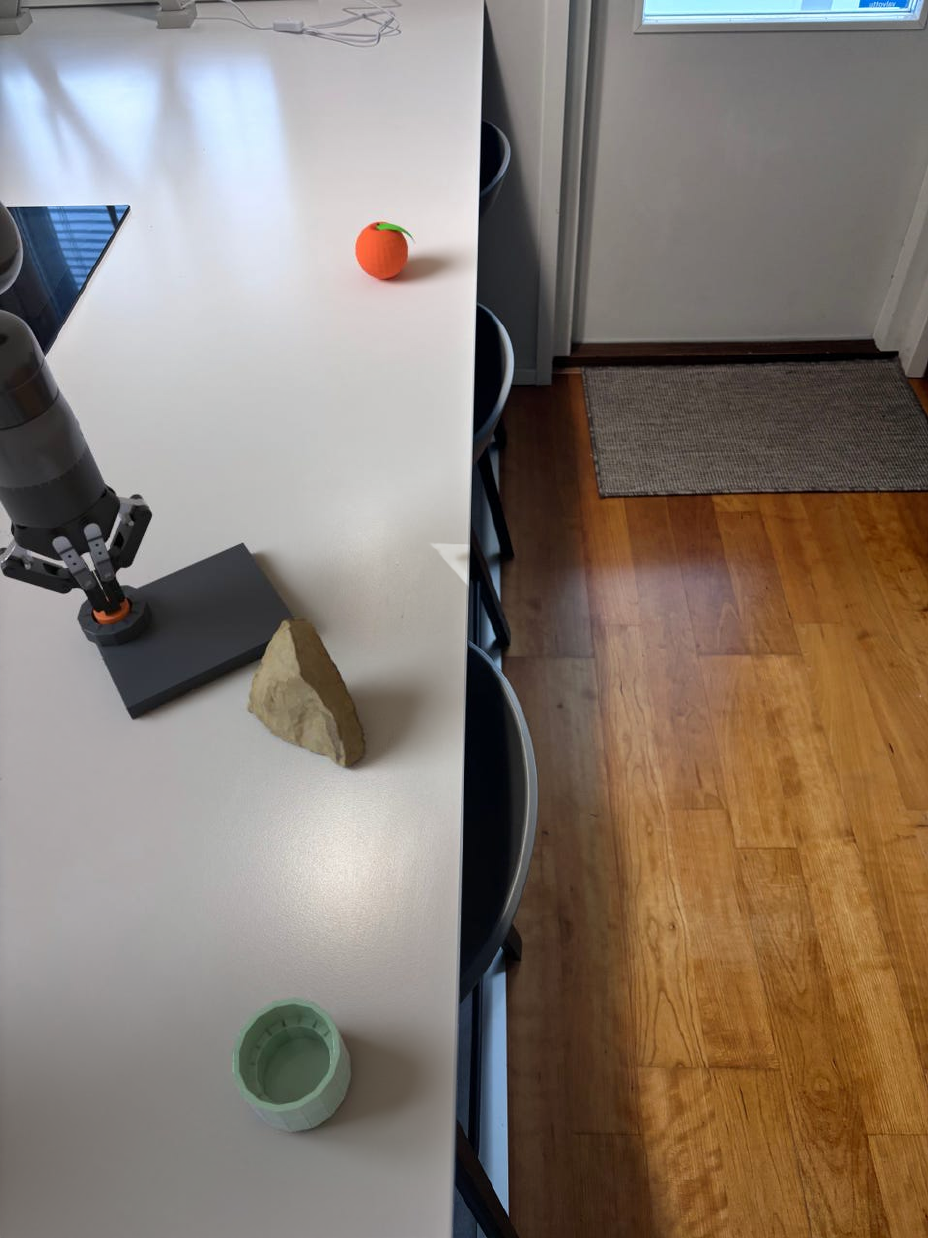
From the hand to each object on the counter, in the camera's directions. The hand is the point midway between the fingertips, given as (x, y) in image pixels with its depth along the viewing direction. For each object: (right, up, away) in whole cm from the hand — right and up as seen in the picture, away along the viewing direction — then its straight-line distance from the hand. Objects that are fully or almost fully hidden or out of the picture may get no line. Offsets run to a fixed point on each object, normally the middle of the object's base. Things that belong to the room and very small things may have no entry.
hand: (111, 606), depth 84 cm
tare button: (0, -1, +1) cm, 2 cm away
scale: (+7, -2, +2) cm, 7 cm away
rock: (+18, -11, -6) cm, 22 cm away
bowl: (+21, -30, -24) cm, 44 cm away
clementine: (+21, +45, +43) cm, 65 cm away
